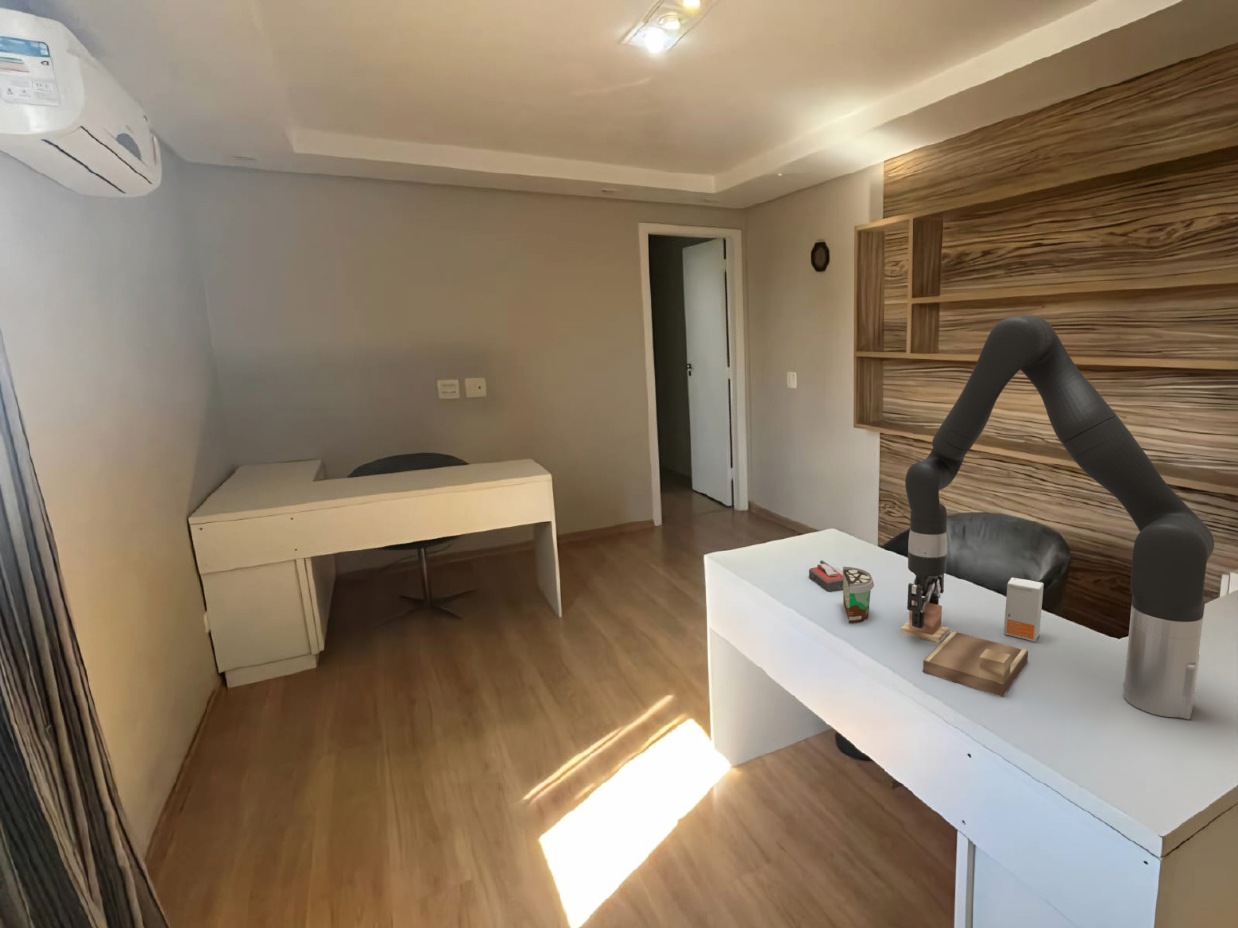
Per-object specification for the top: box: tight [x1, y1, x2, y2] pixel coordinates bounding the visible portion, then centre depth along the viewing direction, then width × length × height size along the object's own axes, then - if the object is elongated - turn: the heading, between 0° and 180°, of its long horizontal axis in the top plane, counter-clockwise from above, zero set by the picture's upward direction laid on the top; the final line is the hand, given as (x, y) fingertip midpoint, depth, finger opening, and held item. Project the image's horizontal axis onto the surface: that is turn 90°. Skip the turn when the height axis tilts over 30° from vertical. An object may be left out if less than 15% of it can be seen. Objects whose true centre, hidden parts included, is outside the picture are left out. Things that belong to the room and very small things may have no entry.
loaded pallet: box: [900, 602, 950, 644], centre depth 142 cm, size 8×6×6 cm
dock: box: [922, 630, 1029, 698], centre depth 127 cm, size 14×16×3 cm
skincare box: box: [1003, 577, 1045, 643], centre depth 137 cm, size 6×4×12 cm
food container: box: [842, 566, 875, 624], centre depth 152 cm, size 12×6×10 cm, turn 168°
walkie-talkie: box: [808, 559, 843, 593], centre depth 176 cm, size 9×4×20 cm
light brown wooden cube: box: [979, 649, 1011, 684], centre depth 118 cm, size 4×4×4 cm
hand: (925, 620), depth 142 cm, fingers open, 8 cm apart
